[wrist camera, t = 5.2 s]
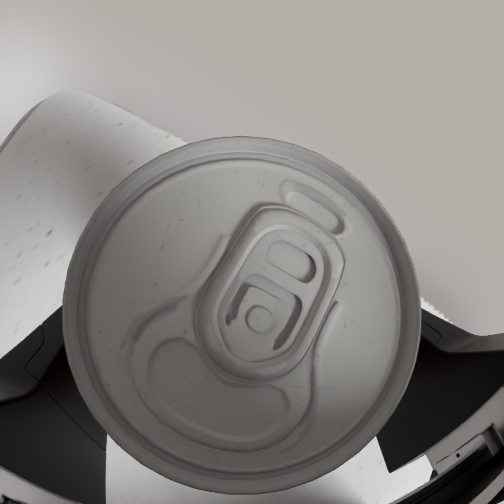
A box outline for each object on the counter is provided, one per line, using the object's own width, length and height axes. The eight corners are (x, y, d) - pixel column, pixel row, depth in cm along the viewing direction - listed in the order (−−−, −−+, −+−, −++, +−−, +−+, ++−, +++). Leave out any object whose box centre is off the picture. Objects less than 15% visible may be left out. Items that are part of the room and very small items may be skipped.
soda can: (130, 339, 14) (-21, 372, 2) (193, 235, 16) (192, 60, 5) (240, 401, 14) (332, 543, 3) (297, 296, 16) (469, 239, 5)
